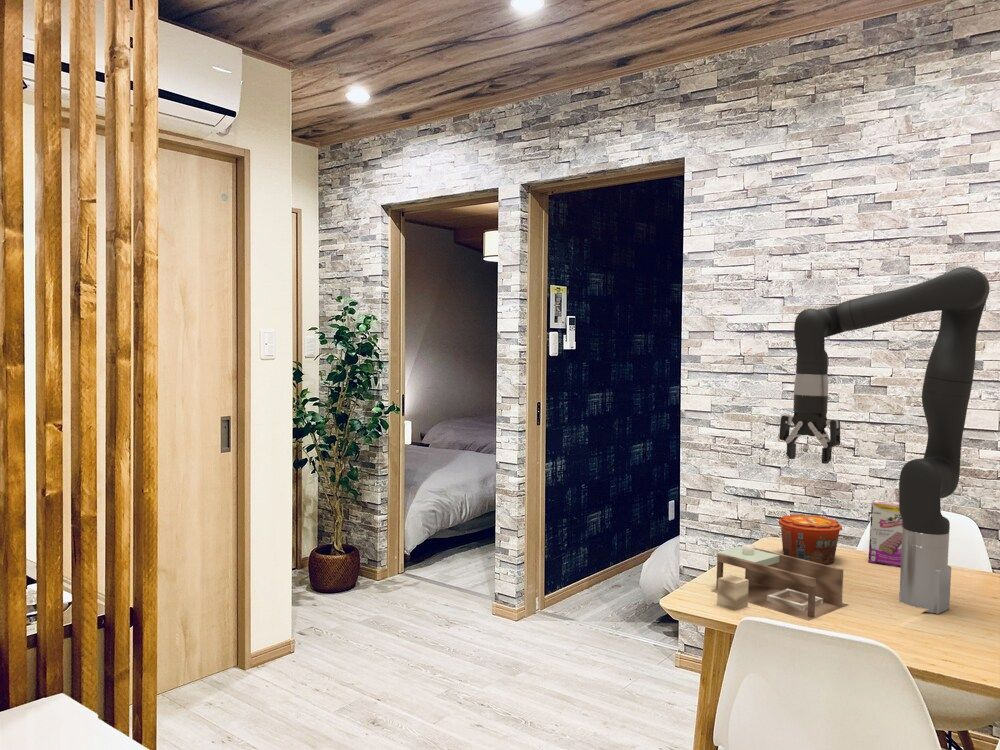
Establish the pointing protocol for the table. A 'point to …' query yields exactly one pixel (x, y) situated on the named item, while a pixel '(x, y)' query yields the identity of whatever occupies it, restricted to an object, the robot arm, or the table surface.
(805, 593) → the brown wooden frame
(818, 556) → the food container
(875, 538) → the candy bar box
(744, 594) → the birch block
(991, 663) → the table surface
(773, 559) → the sliding cover
